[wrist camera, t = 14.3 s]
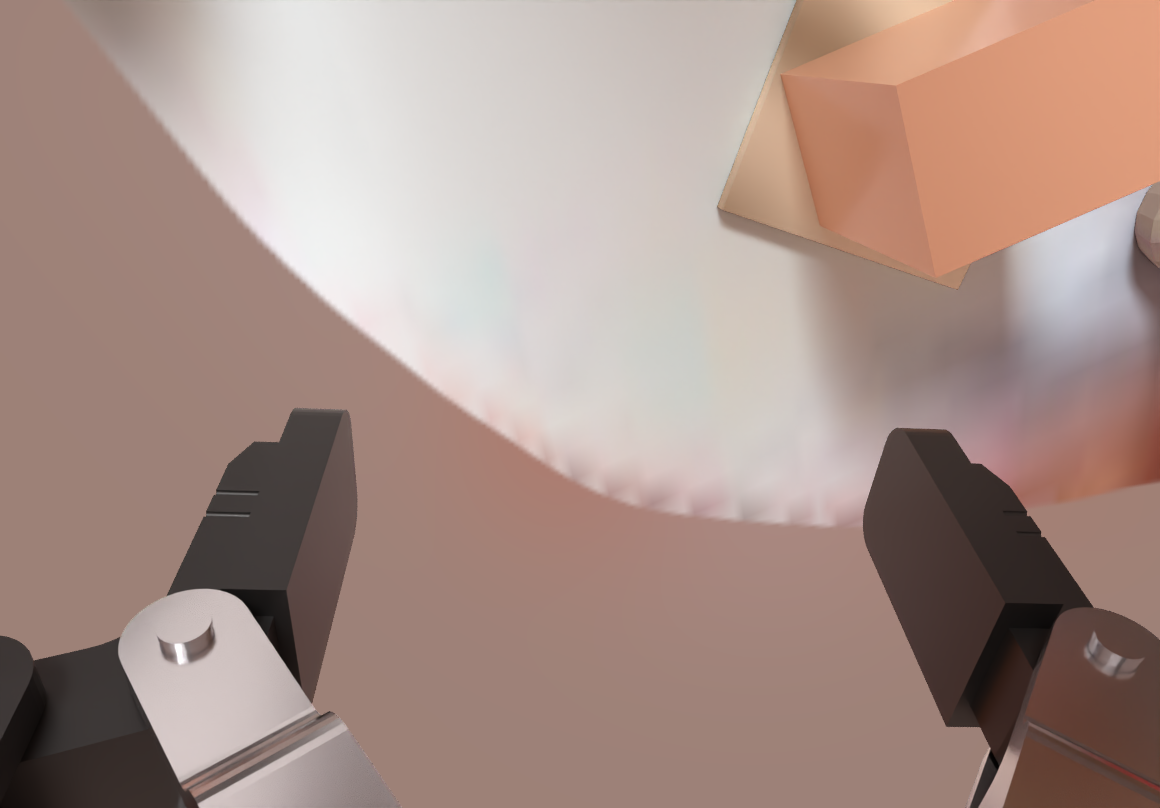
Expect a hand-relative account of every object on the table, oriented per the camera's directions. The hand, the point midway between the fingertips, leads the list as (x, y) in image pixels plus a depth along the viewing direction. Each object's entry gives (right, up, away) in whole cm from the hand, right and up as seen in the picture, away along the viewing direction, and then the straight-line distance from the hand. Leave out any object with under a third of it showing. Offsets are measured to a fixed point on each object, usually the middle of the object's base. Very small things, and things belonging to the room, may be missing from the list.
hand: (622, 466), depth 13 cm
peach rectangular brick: (+10, +11, +17) cm, 23 cm away
